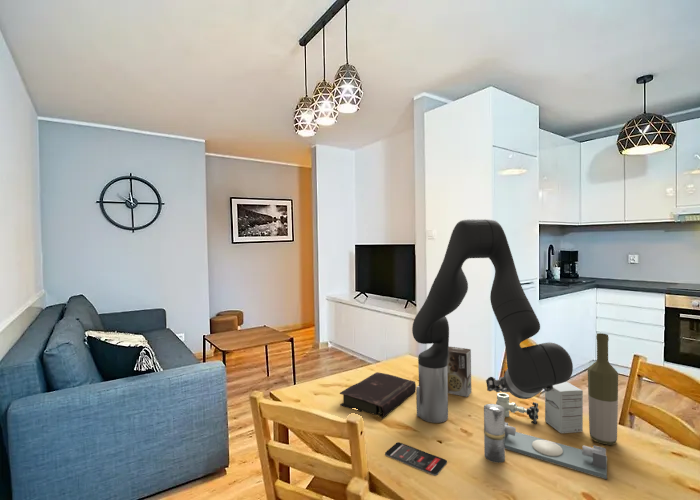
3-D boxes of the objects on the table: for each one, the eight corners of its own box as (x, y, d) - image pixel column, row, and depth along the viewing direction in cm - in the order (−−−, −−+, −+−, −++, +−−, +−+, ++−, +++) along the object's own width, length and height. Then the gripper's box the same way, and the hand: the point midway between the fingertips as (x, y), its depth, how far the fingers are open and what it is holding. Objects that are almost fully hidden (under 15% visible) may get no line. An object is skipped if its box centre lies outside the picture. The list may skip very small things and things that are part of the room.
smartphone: (436, 474, 87) (383, 453, 97) (436, 477, 87) (383, 456, 97) (448, 460, 93) (397, 441, 102) (448, 463, 93) (397, 443, 102)
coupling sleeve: (481, 458, 94) (481, 409, 94) (487, 449, 98) (486, 402, 98) (502, 465, 91) (501, 414, 91) (507, 455, 95) (506, 406, 95)
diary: (416, 393, 137) (416, 380, 136) (383, 421, 116) (383, 406, 116) (374, 382, 147) (374, 370, 147) (337, 406, 127) (337, 392, 127)
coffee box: (472, 391, 136) (471, 348, 136) (467, 397, 131) (467, 353, 130) (448, 386, 141) (447, 345, 141) (443, 392, 136) (442, 349, 135)
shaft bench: (492, 444, 100) (492, 429, 100) (500, 430, 108) (499, 416, 107) (606, 479, 85) (606, 461, 85) (607, 460, 92) (606, 443, 92)
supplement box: (544, 421, 112) (543, 381, 112) (566, 420, 113) (566, 380, 113) (560, 434, 105) (559, 391, 105) (583, 432, 106) (583, 389, 106)
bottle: (609, 450, 97) (608, 338, 96) (582, 437, 103) (581, 333, 102) (624, 443, 100) (623, 335, 99) (597, 431, 106) (596, 330, 106)
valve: (493, 417, 116) (534, 428, 109) (493, 396, 116) (533, 407, 109) (499, 409, 121) (539, 420, 114) (499, 390, 121) (538, 399, 114)
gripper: (556, 360, 79) (541, 372, 93) (487, 361, 83) (483, 373, 96) (564, 397, 76) (548, 404, 89) (492, 396, 79) (487, 403, 93)
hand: (514, 388), depth 93 cm, fingers open, 8 cm apart
